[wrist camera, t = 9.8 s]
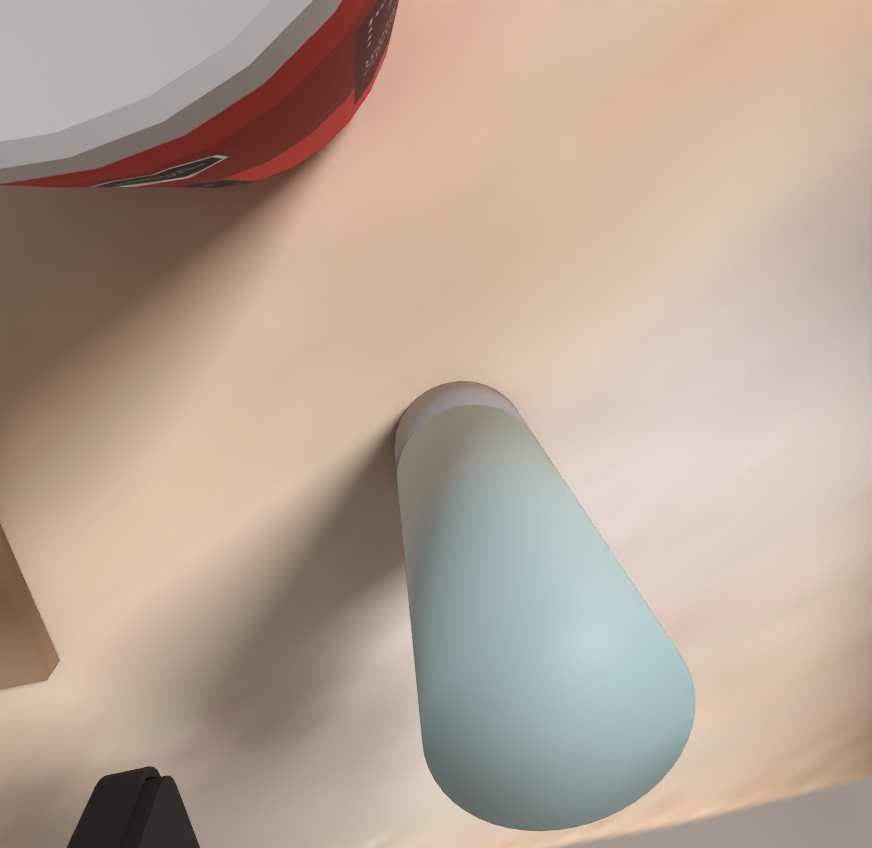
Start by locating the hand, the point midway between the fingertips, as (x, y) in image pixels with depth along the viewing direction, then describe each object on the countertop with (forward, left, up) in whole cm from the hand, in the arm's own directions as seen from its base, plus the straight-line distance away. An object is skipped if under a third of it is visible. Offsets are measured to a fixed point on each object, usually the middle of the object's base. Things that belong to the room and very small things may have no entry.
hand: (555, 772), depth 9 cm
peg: (-1, 0, -10) cm, 10 cm away
